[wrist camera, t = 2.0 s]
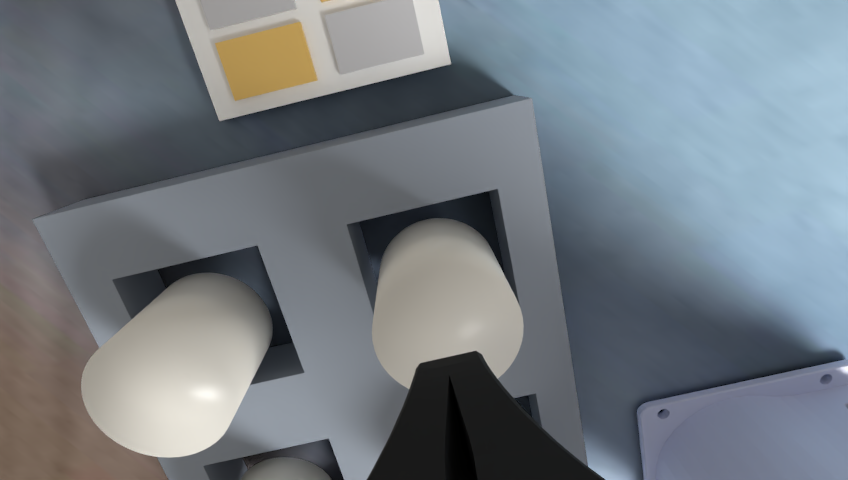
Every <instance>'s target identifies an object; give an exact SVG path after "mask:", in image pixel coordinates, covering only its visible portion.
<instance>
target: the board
mask: <svg viewBox="0 0 848 480" xmlns="http://www.w3.org/2000/svg"><path fill="white" fill-rule="evenodd" d="M487 191H489V194H490V200H491V205H492V210H493V215H494V220H495V226H496V231H497V236H498V241H499V246H500V251H501V257H502V262H503V267H504V272H505V277H506V279H507V281H508V283H509V285H510V287H511V289H512V291H513V293H514V295H515V297H516V299H517V301H518V304H519V306H520V308H521V312H522V316H523V324H524V328H523V338H522V343H521V346H520V349H519V352H518V354H517V356H516V358H515V360H514V361H513V363H512V364H511V366H510V367H509V368H508V369H507V370H506V371H505V373H504V374H503V375H501V376H500V377H499V378H498V380H499V381H500V383H501V384H502V385H503V386H504V388H505V389H506V390H507V391H508V392H509V393H510V395H511V396H512V397H513V398H517V397H521V396H526V395H528V397H529V402H530V407H531V413H532V418H533V419H534V420H535V421H536V422H537V423H538V424H539V425H540V426H541V427H542V428H543V429H544V430H545V431H546V432H547V433H548V434H550V435H551V436H552V437H553V438H554V439H555V440H556V441H557V442H558V443H560V444H561V445H562V446H563V447H564V448H565V449H567V450H568V451H569V452H570V453H571V454H573V455H574V456H575V457H576V458H578V459H579V460H580V461H581V462H583V463H584V464H585V465H586V466H588V463H587V457H586V450H585V443H584V437H583V430H582V424H581V417H580V411H579V404H578V397H577V391H576V384H575V378H574V371H573V365H572V358H571V351H570V345H569V338H568V332H567V325H566V319H565V312H564V305H563V299H562V292H561V286H560V279H559V273H558V266H557V259H556V253H555V246H554V240H553V233H552V226H551V220H550V213H549V207H548V200H547V194H546V187H545V180H544V174H543V167H542V161H541V154H540V148H539V141H538V134H537V128H536V121H535V115H534V108H533V102H532V98H528V97H522V96H516V95H513V96H508V97H504V98H500V99H496V100H492V101H488V102H484V103H480V104H476V105H471V106H467V107H463V108H459V109H455V110H451V111H447V112H443V113H438V114H434V115H430V116H426V117H422V118H418V119H414V120H410V121H406V122H401V123H397V124H393V125H389V126H385V127H381V128H377V129H373V130H369V131H364V132H360V133H356V134H352V135H348V136H344V137H340V138H336V139H331V140H327V141H323V142H319V143H315V144H311V145H307V146H303V147H299V148H294V149H290V150H286V151H282V152H278V153H274V154H270V155H266V156H261V157H257V158H253V159H249V160H245V161H241V162H237V163H233V164H229V165H224V166H220V167H216V168H212V169H208V170H204V171H200V172H196V173H191V174H187V175H183V176H179V177H175V178H171V179H167V180H163V181H159V182H154V183H150V184H146V185H142V186H138V187H134V188H130V189H126V190H122V191H117V192H113V193H109V194H105V195H101V196H97V197H93V198H89V199H84V200H81V201H79V202H76V203H73V204H71V205H68V206H66V207H63V208H60V209H58V210H55V211H53V212H50V213H47V214H45V215H42V216H40V217H37V218H34V219H32V220H33V222H34V224H35V226H36V228H37V230H38V232H39V234H40V236H41V237H42V239H43V241H44V243H45V245H46V247H47V249H48V251H49V253H50V255H51V257H52V258H53V260H54V262H55V264H56V266H57V268H58V270H59V272H60V274H61V276H62V277H63V279H64V281H65V283H66V285H67V287H68V289H69V291H70V293H71V295H72V297H73V298H74V300H75V302H76V304H77V306H78V308H79V310H80V312H81V314H82V316H83V317H84V319H85V321H86V323H87V325H88V327H89V329H90V331H91V333H92V335H93V336H94V338H95V340H96V342H97V344H98V346H99V348H100V347H101V346H102V345H104V344H105V343H106V342H107V341H108V340H109V339H110V338H111V337H113V336H114V335H115V334H116V333H117V332H118V331H119V330H120V329H122V328H123V327H124V326H125V325H126V324H127V323H128V322H129V321H131V320H132V319H133V318H134V317H135V316H136V315H137V314H138V313H140V312H141V311H142V310H143V309H144V308H145V307H146V306H147V305H149V304H150V303H151V302H152V301H153V300H154V299H155V298H156V297H158V296H159V295H160V294H161V293H162V292H163V291H164V290H165V289H166V288H165V285H164V283H163V281H162V279H161V277H160V274H159V272H158V270H157V269H160V268H164V267H168V266H172V265H177V264H181V263H185V262H189V261H194V260H198V259H202V258H206V257H211V256H215V255H219V254H223V253H228V252H232V251H236V250H240V249H245V248H249V247H253V246H258V248H259V251H260V254H261V256H262V259H263V262H264V265H265V267H266V270H267V273H268V275H269V278H270V281H271V284H272V286H273V289H274V292H275V294H276V297H277V300H278V302H279V305H280V308H281V311H282V313H283V316H284V319H285V321H286V324H287V327H288V329H289V332H290V335H291V338H292V340H293V343H288V344H284V345H279V346H275V347H271V348H268V350H267V352H266V354H265V356H264V358H263V360H262V362H261V364H260V366H259V368H258V370H257V372H256V374H255V376H254V378H253V380H252V382H251V384H250V386H249V388H248V390H247V392H246V394H245V396H244V398H243V400H242V402H241V404H240V406H239V408H238V410H237V412H236V414H235V416H234V418H233V419H232V421H231V423H230V425H229V427H228V429H227V431H226V432H225V433H224V435H223V436H222V437H221V438H220V439H219V440H218V441H217V442H216V443H214V444H213V445H212V446H210V447H208V448H207V449H205V450H203V451H200V452H198V453H195V454H191V455H188V456H182V457H170V458H168V457H157V458H158V460H159V462H160V464H161V466H162V468H163V470H164V472H165V474H166V475H167V477H168V479H169V480H241V478H242V476H243V475H244V474H245V472H246V471H247V470H248V469H247V467H246V465H245V463H244V460H243V458H242V457H246V456H250V455H255V454H260V453H264V452H269V451H273V450H278V449H283V448H287V447H292V446H296V445H301V444H306V443H310V442H315V441H319V440H324V439H329V440H330V443H331V446H332V448H333V451H334V454H335V457H336V459H337V462H338V465H339V467H340V470H341V473H342V475H343V478H344V480H367V478H368V476H369V475H370V473H371V471H372V469H373V467H374V465H375V463H376V462H377V460H378V458H379V456H380V454H381V452H382V450H383V448H384V446H385V444H386V442H387V440H388V438H389V436H390V434H391V432H392V430H393V427H394V425H395V423H396V421H397V418H398V416H399V414H400V412H401V409H402V407H403V404H404V402H405V399H406V397H407V394H408V391H409V389H408V388H406V387H405V386H403V385H401V384H400V383H398V382H397V381H396V380H394V379H393V378H392V377H391V376H390V375H389V374H388V373H387V372H386V370H385V369H384V368H383V366H382V365H381V363H380V361H379V360H378V358H377V355H376V353H375V350H374V346H373V341H372V324H373V316H374V308H375V301H376V293H377V286H378V285H377V282H376V278H375V275H374V271H373V268H372V264H371V261H370V257H369V254H368V251H367V247H366V244H365V240H364V237H363V233H362V230H361V226H360V223H359V221H363V220H368V219H372V218H376V217H380V216H385V215H389V214H393V213H397V212H402V211H406V210H410V209H414V208H419V207H423V206H427V205H431V204H436V203H440V202H444V201H448V200H453V199H457V198H461V197H465V196H470V195H474V194H478V193H482V192H487Z"/></svg>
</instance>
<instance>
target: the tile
mask: <svg viewBox="0 0 848 480" xmlns="http://www.w3.org/2000/svg"><path fill="white" fill-rule="evenodd" d="M175 1H176V4H177V6H178V9H179V12H180V15H181V17H182V20H183V23H184V26H185V28H186V31H187V34H188V37H189V39H190V42H191V45H192V48H193V50H194V53H195V56H196V59H197V61H198V64H199V67H200V70H201V72H202V75H203V78H204V81H205V83H206V86H207V89H208V91H209V94H210V97H211V100H212V102H213V105H214V108H215V111H216V113H217V116H218V119H219V121H222V120H227V119H231V118H235V117H239V116H243V115H247V114H251V113H255V112H259V111H263V110H267V109H271V108H275V107H279V106H283V105H287V104H291V103H295V102H299V101H304V100H308V99H312V98H316V97H320V96H324V95H328V94H332V93H336V92H340V91H344V90H348V89H352V88H356V87H360V86H364V85H368V84H372V83H376V82H381V81H385V80H389V79H393V78H397V77H401V76H405V75H409V74H413V73H417V72H421V71H425V70H429V69H433V68H437V67H441V66H445V65H449V64H451V61H450V56H449V51H448V46H447V41H446V36H445V31H444V26H443V21H442V16H441V11H440V6H439V1H438V0H175Z"/></svg>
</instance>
